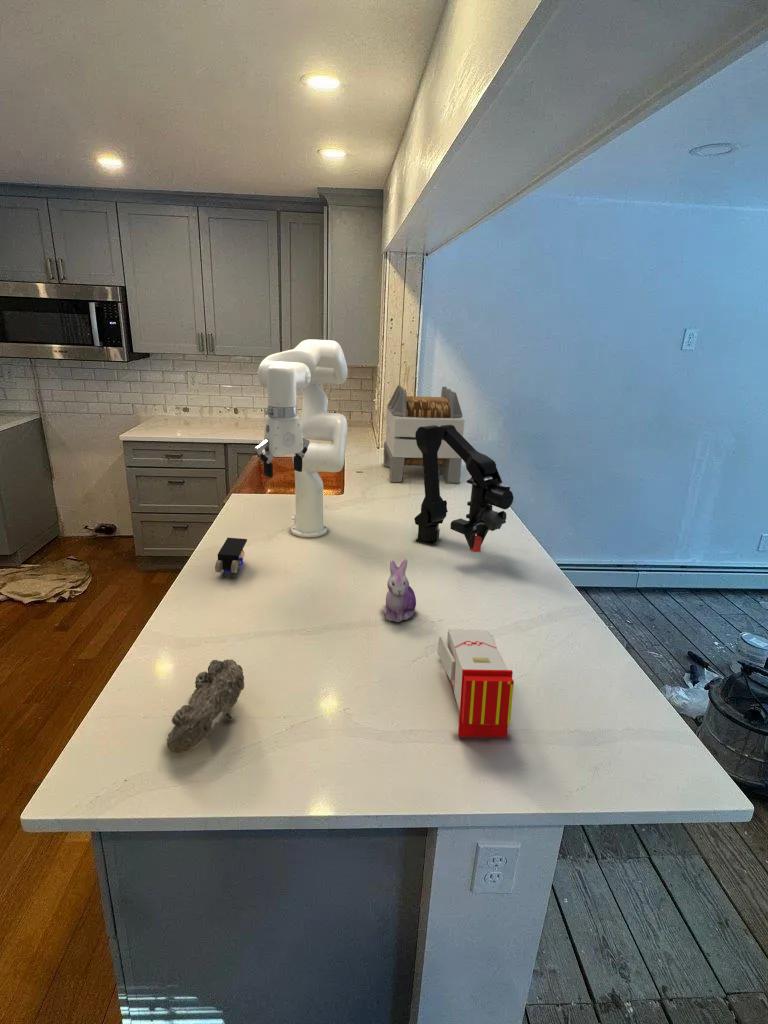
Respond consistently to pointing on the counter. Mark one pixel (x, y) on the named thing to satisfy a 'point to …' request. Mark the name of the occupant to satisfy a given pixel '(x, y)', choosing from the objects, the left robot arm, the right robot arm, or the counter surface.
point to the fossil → (206, 705)
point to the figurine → (399, 594)
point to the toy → (478, 682)
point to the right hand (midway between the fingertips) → (475, 547)
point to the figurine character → (230, 556)
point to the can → (477, 544)
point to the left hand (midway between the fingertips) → (283, 473)
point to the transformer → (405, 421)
